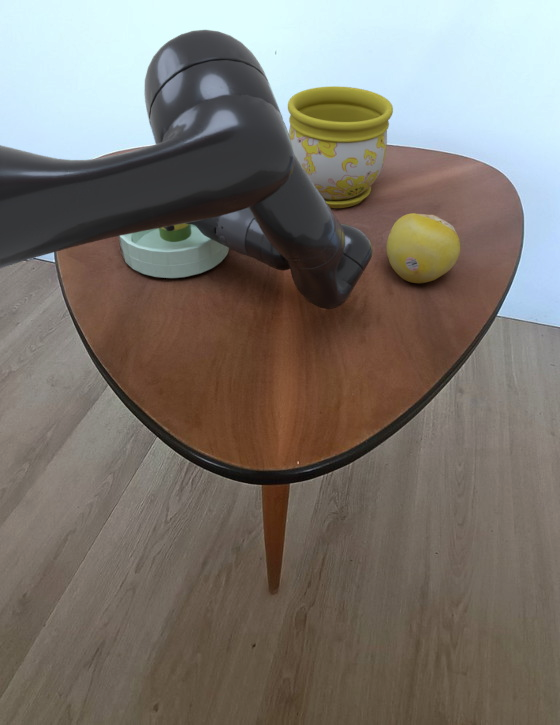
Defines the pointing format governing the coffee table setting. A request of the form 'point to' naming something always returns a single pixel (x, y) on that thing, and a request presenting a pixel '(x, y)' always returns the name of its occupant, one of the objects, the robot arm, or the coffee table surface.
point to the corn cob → (176, 233)
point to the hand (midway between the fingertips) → (157, 184)
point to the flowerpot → (340, 140)
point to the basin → (171, 253)
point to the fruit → (422, 247)
